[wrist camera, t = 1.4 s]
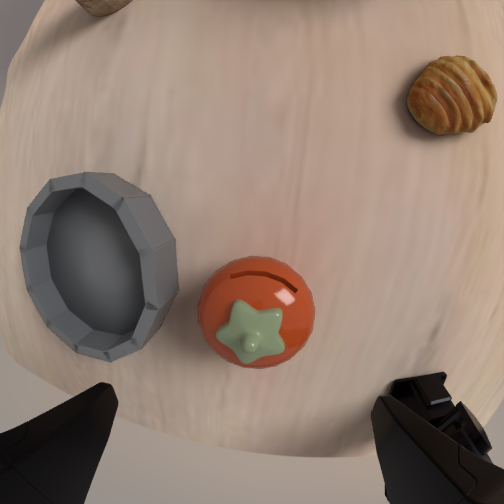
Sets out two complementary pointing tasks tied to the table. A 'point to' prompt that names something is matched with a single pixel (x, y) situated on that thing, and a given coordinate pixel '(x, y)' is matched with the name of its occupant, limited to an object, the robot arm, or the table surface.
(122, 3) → the figurine
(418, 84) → the pastry
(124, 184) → the bowl
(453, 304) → the table surface
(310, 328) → the tomato
